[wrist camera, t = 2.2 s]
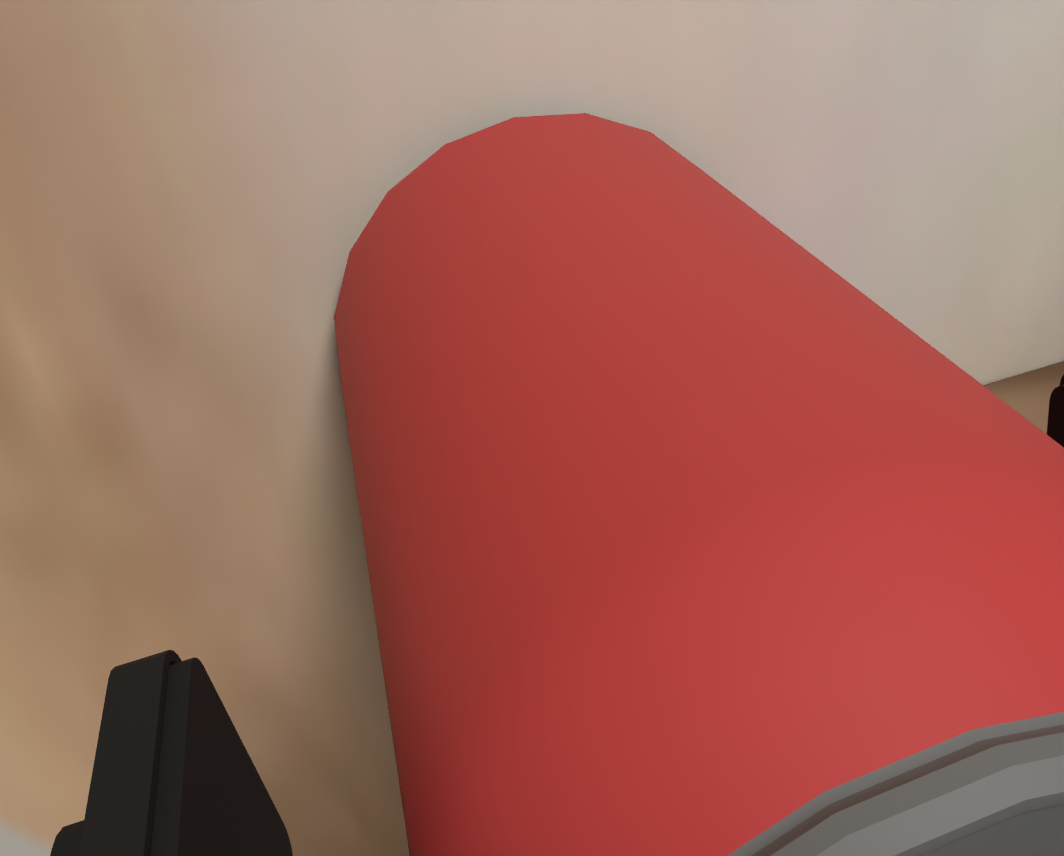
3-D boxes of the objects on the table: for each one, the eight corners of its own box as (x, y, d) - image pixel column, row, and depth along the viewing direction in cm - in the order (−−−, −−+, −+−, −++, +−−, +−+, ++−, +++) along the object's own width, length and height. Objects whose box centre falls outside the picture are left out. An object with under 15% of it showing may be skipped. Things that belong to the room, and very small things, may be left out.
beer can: (740, 430, 19) (1312, 1145, 8) (386, 524, 18) (550, 1430, 8) (719, 59, 15) (1656, 520, 5) (278, 157, 14) (317, 932, 4)
